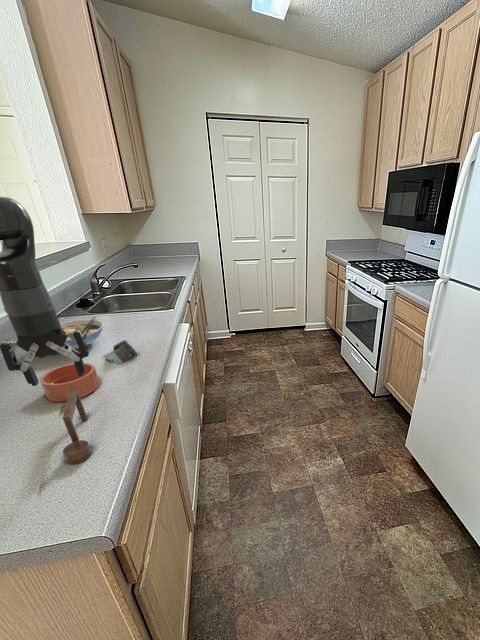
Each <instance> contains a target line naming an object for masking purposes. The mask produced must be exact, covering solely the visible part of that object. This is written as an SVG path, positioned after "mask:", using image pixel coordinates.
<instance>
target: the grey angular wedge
mask: <svg viewBox="0 0 480 640" xmlns="http://www.w3.org/2000/svg"><path fill="white" fill-rule="evenodd" d="M112 347H113V348H112V349H113V351H112V352H111V353H109V354H108V355H106V357H105V359H106V360H107V359H108V360H107V362H108V363H111V362H113V363H115V364H116V365H119V364H123V363H126V361H127V360H128V359H130V358H131V357H138V353H137V351H136V349H135V348H133V346H132V345H131V344H129V343H128V341H127V340H126V339H123V340H122V341H119V342H118V343H116V344H115V345H113V346H112Z"/></svg>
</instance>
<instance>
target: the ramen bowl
mask: <svg viewBox="0 0 480 640" xmlns="http://www.w3.org/2000/svg"><path fill="white" fill-rule="evenodd" d="M60 325H61V328H62V330H63V331H64V332H71V331H75V329H77V328H78V329H80V330H81V332H82V334H83V336H84V339H85V341H86V344H87V346H89V345H90V344H92V343H94V342H95V341H96V340H98V338H99V337H100V335H101V334H102V331H103V328H104V322H103V321H100V320H97V319H96V317H95V316H93V317H92V318H91V319H75V320H70V321H63V322H60ZM65 343H66V344H68V345H69V346H71V347H72V348H73V349H74V350H76V351H78V350H80V349H79V347H78V345H77V342H76V341H72V340H71V339H70V338H67V339H66V342H65Z"/></svg>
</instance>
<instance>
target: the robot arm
mask: <svg viewBox="0 0 480 640" xmlns="http://www.w3.org/2000/svg"><path fill="white" fill-rule="evenodd" d="M0 242H1V251H0V301H1V304H2V306H3V309H4V312H5V313H6V315H7V317H8V319H9V321H10V324H11V326H12V328H13V331H14V333H15V335H16V339H15V340H9V339H3V341H1V343H0V352H1V354H2V356H3V360H4V362H5V365H6V367H7V370H8V371H10V372H14V371H20V372H22V374H23V376H24V378H25V380H26V383H27V384H28V385H31V386H32V387H35V386H38V384H39V378H38V376H37V375H36V371H35V369H34V367H33V366H31V364H32V361H33V360H34V357H36V358H39V359H42V358H45V357H48V356H57V355H58V354H60V355H62V356H64V357H66V358H69V359H70V360H73V364H74V365H75V367H76V370H77V373H78V375H79V376H83V373H85V366H84V363H85V362H84V360H83V359H84V358H88V357H89V354H90V349H89V345H87V344H86V341H85V339H84V336H83V334H82V332H81V330H80V329H78V328H77V329H75V331H71V332H64V331H63V330H62V328H61V325H60V323H61V322H60V320H59V318H58V314H57V312H56V308H55V306H54V304H53V301H52V299H51V295H50V294H49V291H48V289H47V287H46V285H45V283H44V281H43V277H42V276H41V273H40V271H39V268H38V265H37V261H36V246H35V245H36V243H35V229H34V225H33V221H32V219H31V216H30V214H29V213H28V211H27V210H26V208H25V207H24V206H23V205H22V204H21V203H19V201H17V200H15V199H13V198H11V197H7V196H0ZM67 338H70V339H71V340H72V341H76V342H77V345H78V347H79V349H78V350H79V351H78V350H74V349H73V348H72V347H71V346H69V345H68V344H66V343H65V342H66V339H67ZM17 347H18V348H20V349H22V350H23V351H25V352H26V355H25V357H24V359H23V361H18V359H17V356H16V353H15V351H16V350H17Z"/></svg>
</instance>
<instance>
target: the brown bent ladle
mask: <svg viewBox="0 0 480 640" xmlns="http://www.w3.org/2000/svg"><path fill="white" fill-rule="evenodd" d="M65 402H66V403H65V406H64V411H63V415H62V420H63V423H64V425H65V428H66V430H67V433H68V435H69V437H70V440H71V442H70V443H69V444H67V445H66V446H65V447H64V448H63V450H62V453H63V456H64V458H65V460H66V462H67V464H68V465H71V466H72V465H73V466H75V465H79V464H82V463H84V462H86V461H87V460H89V459H90V458H91V457H92V450H91V446H90V444H89V442H88V441H87V440H84V439H81V440H80V437H79V435H78V431H77V429H76V427H75V425H74V422H73V420H74V415H75V410H76V409H77V412H78V415H79V417H80V420H81V422H82V423H83V422H87V421H88V420H89V418H88V415H87V413H86V409H85V407H84V404H83V402H82V398H80V396H79V394H78V391H77V388H76V386H73V387H70V390H69V394H68V398H67V401H65Z"/></svg>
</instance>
